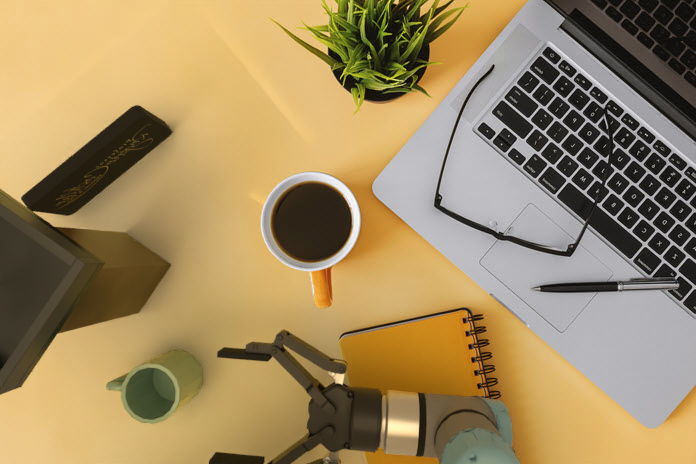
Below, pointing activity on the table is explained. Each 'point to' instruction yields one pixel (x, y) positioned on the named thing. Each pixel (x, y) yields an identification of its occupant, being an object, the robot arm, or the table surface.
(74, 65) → the table surface
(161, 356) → the mug
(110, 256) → the stand
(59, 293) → the tray
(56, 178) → the nameplate
